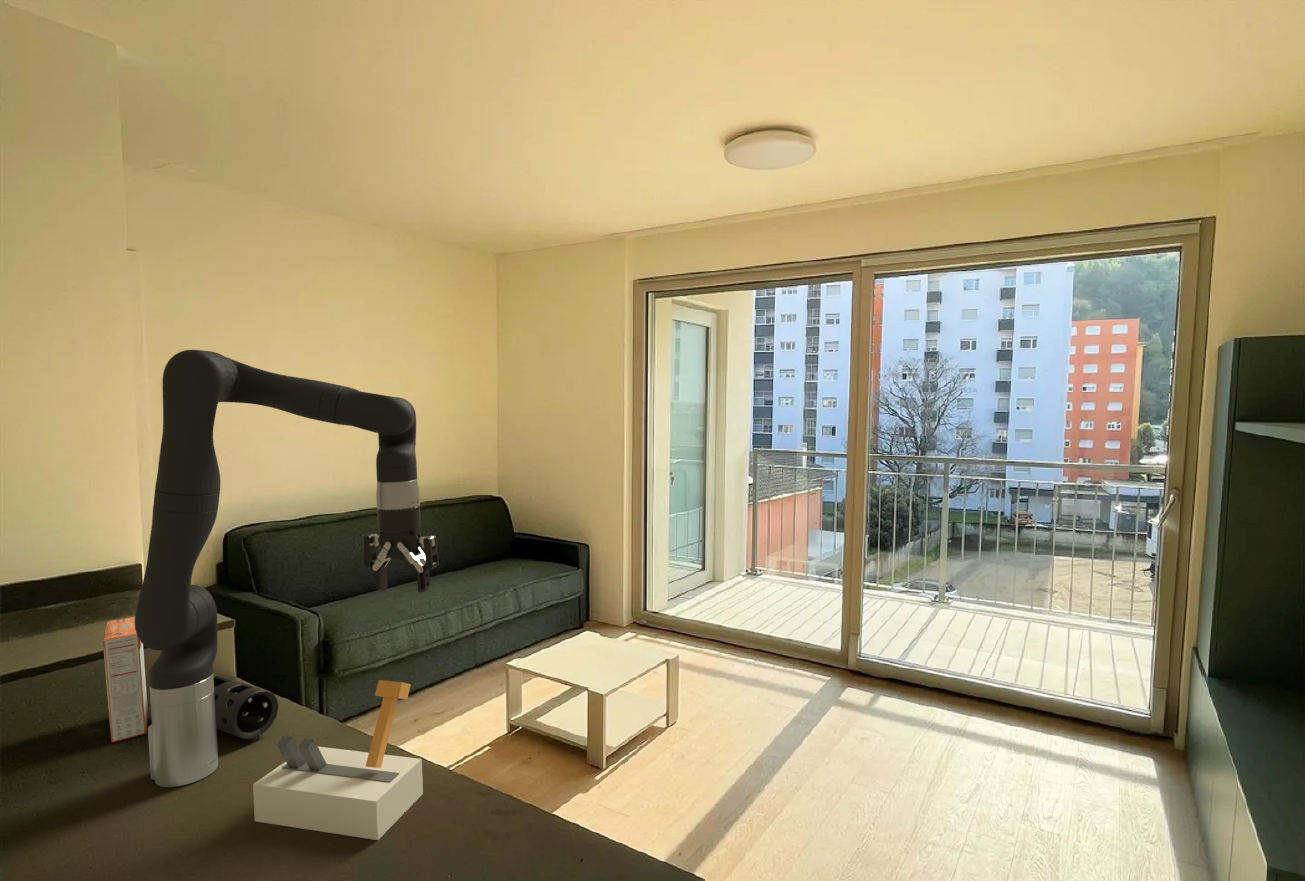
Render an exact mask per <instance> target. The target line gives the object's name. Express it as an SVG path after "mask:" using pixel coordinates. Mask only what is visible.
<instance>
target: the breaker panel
mask: <svg viewBox="0 0 1305 881" xmlns="http://www.w3.org/2000/svg"><path fill="white" fill-rule="evenodd" d="M276 747H277V748H278V750H279V751H280V754H281V755H282V757H283V758H284V760H285V761H284V762H283V763H282V764H280V765H278V766H277V767H276V768H273V770H271V771H269V772H268V773H267V774H265V775H264V776H263V777H261V778H260V779H258V780H257V781H255V782H254V783H253V784H252V790H253V791H252V792H253V795H252V796H253V813H254V815H253V816H254V822H258V823H263V824H264V823H265V824H268V825H269V824H270V825H277V826H282V827H283V826H285V827H291V828H297V829H304V830H309V831H310V830H311V831H317V832H323V833H329V834H335V835H336V834H337V835H342V836H347V837H356V838H360V839H369V840H375V841H379V840H380V839H381V837H383V836H384V835H385V834H386V833H387V831H388V830H389V829H390V828H392V826H393V825H395V823H396V822H398V820H399V819H400V818H401V817H402V816H403V815H404V814H405V813H406V812H407V811H408V810H409V809H410V808H411V807H412V806H413V805H414V804H415V803H416V802H417V800H418V799H419V798H420V797H422V795H423V794H424V788H423V787H424V785H423V784H424V782H423V759H422V758H415V757H408V756H401V755H391V754H384V758H383V762H382V766H381V768H374V767H366V762H367V758H368V755H369V751H368V752H367V751H359V750H348V749H342V748H341V749H340V748H335V747H334V748H333V747H332V748H331V747H324V746H318V744H317V742H316V739H312V738H303V740H302V741H301V742H300V743H299V745H298V744H297V742H296V740H295V738H294V737H293V736H287V735H283V736H281V738H280V739H279V741H278V742H277V743H276ZM413 803H414V804H413ZM404 812H405V813H404Z"/></svg>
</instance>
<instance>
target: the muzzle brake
mask: <svg viewBox="0 0 1305 881" xmlns="http://www.w3.org/2000/svg"><path fill="white" fill-rule="evenodd" d="M213 680H214V696H215V713H216V730H219V731H221V732H224V733H226V734H229V735H232V736H235V737H237V738H240V739H243V740H247V741H250V742H256V741H257V740H259V739H260V737H261V735H263V734H264V733H266V731H268V730H269V729H270V727H271V726H272V725H273V724H274V721H275V720H276V718H277V715H278V712H279V700H278V699H277V698H278V697H276V695H275V694H274V693H273V692H272V691H269V690H266V689H263V688H260V687H256V686H253V685H251V684H250V685H249V684H247V683H244V682H241V681H237V680H234V679H231V678H229V677H225V676H221V675H218V674H215V673H213Z"/></svg>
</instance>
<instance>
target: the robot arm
mask: <svg viewBox="0 0 1305 881" xmlns="http://www.w3.org/2000/svg"><path fill="white" fill-rule="evenodd" d="M219 403H237V404H238V403H239V404H251V405H258V406H262V407H263V406H264V407H268V408H272V409H276V410H279V411H282V412H285V413H288V414H293V415H295V416H299V417H302V418H306V419H310V420H314V421H318V422H324V423H330V424H334V425H338V426H339V425H341V426H349V427H354V428H358V429H359V430H360V429H361V430H364V431H369V432H372V433H375V434H377V435H378V436H377V437H378V438H377V439H378V451H377V454H376V458H375V462H376V463H375V464H376V465H375V469H376V470H375V471H376V490H375V491H376V492H375V494H376V495H375V496H376V497H375V499H376V514H377V515H376V518H377V520H376V521H377V530H378V532H379V535H378V534H377V533H374V532H373V533H371V534H368V535H366V536H364V539H363V566H364V567H366V568H371V569H372V570H373V573H374V585H375V587H376V589H377V591H384V590H386V589H388V586H389V584H388V569H387V568H386V567H387V565H388V563H389V562H390V561H391V560H396V559H399V560H406V561H408V562H409V563H410V564H411V565H413V566H414V567H415V569H416V571H417V573H416V581H417V582H416V583H417V593H421V594H422V593H424V592H426V591H427V590H428V588H429V589H430V585H431V584H430V571H431V570H433V569H435V568H438V567H439V566H440V560H439V550H438V549H439V548H438V540H437V535H435V534H431V535H429V536H422V534H421V532H420V531H421V528H422V527H421V526H422V522H421V520H422V519H421V499H420V498H421V496H420V486H419V483H418V468H417V467H418V466H417V464H418V463H417V457H416V456H417V455H416V441H417V415H416V414H417V413H416V410H415V408H414V405H413V404H412V403H411V402H410V401H409V400H407V399H405V398H403V397H399V396H391V395H383V394H379V393H372V392H368V391H367V392H366V391H361V390H358V389H356V388H353V387H349V386H344V385H340V384H337V383H330V382H326V381H321V380H316V379H311V378H310V379H309V378H303V377H296V376H291V375H286V374H281V373H275V372H271V371H268V370H263V369H260V368H257V367H254V366H251V365H249V364H246V363H243V362H240V361H238V360H235V359H232V358H230V357H227V356H225V355H223V354H221V353H219V352H215V351H210V350H204V349H203V350H202V349H186V350H185V349H184V350H181V351H179V352H178V353H175V354H174V355H173V356H172V357H171V358H169V360H168V361H167V363H166V364H165V367H164V369H163V374H162V434H161V435H162V436H161V442H160V448H159V449H160V450H159V458H158V465H157V466H158V467H157V473H156V474H157V475H156V481H155V487H154V494H153V495H154V496H153V506H152V518H151V519H152V520H151V528H150V535H149V543H148V550H147V552H148V553H147V559H146V560H147V561H146V567H145V572H144V577H143V580H142V585H141V589H140V592H139V596H138V599H137V605H136V609H135V615H134V617H135V630H136V633H137V636H138V638H139V640H140V641H141V642H142V643H143V646H145V647H146V648H148V649H149V650H150V649H151V650H153V651H161V652H160V654H159V656H158V658H157V659H156V660H155V662H154V663H153V665H152V666H151V667H150V669H149V672H148V682H149V698H150V699H149V700H150V701H149V702H150V715H151V716H150V717H151V718H150V719H151V724H150V725H149V726H147V736H148V751H149V752H148V754H149V768H150V769H149V770H150V780H154V781H155V782H154V783H155V784H156V785H157V786H158V787H162V788H163V787H164V788H175V787H181V786H185V785H190V784H192V783H195V782H198V781H200V780H202V779H205V778H206V777H208V776H210V775H211V774H212V773H214V772H215V771H216V770H217V769H218V766H219V755H218V735H217V734H218V733H217V732H218V731H217V729H216V713H215V696H214V680H213V674H214V662H215V660H216V657H217V654H218V610H217V605H216V602H215V599H214V597H213V595H212V594H211V593H210V591H209V590H207V589H206V588H204V587H203V586H201V585H198V584H197V585H196V584H191V583H192V577H193V573H194V570H195V569H194V568H195V565H196V563H197V560H198V558H199V556H200V554H201V552H202V550H203V548H204V546H205V544H206V543H207V541H208V539H209V536H210V535H211V532H212V531H213V528H214V525H215V523H216V521H217V516H218V511H219V505H220V495H221V473H220V468H219V462H218V458H217V454H216V450H215V444H214V426H215V421H216V413H217V409H218V405H219ZM379 545H380V547H381V548H382V549H381V551H380V552H379ZM420 546H421V547H422V548H423V549H424V550H422V548H421V547H420Z"/></svg>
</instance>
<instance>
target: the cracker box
mask: <svg viewBox="0 0 1305 881" xmlns="http://www.w3.org/2000/svg"><path fill="white" fill-rule="evenodd" d="M102 643H103V656H104V659H103V660H104V669H105V681H106V682H105V683H106V694H107V706H108V716H109V726H110V727H109V728H110V739H111V740H110V741H111V743H115V742H121V741H123V740H124V741H125V740H127V739H131V738H132V739H133V738H134V737H139V736H138V735H140V736H143V735H146V734H148V698H147V697H148V696H147V692H148V691H147V680H146V679H147V678H146V668H145V667H146V666H145V653H144V644H143V643H142V642H141V641H140V640H139V638H138V636H137V633H136V630H135V616H131V617H127V618H119V619H113V620H109V621H107V623H106V627H105V632H104V636H103V641H102Z"/></svg>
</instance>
